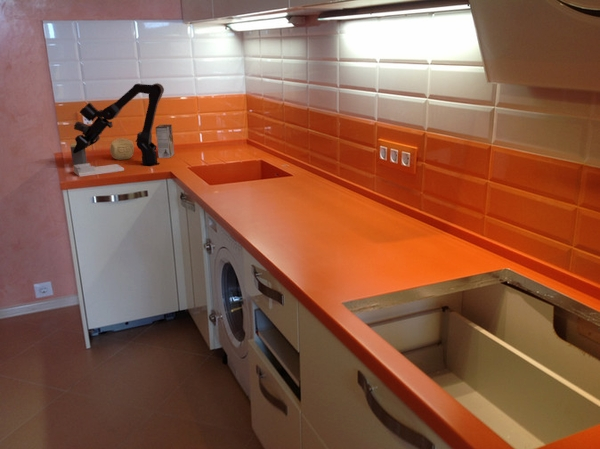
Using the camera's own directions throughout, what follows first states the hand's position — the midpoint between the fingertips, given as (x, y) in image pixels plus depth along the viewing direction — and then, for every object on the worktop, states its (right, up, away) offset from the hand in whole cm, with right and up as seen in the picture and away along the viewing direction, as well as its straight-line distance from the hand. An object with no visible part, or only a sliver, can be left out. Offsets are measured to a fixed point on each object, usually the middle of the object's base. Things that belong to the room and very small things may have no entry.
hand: (77, 151), depth 265 cm
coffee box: (+38, 0, +23) cm, 44 cm away
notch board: (+14, -11, -9) cm, 20 cm away
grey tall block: (+1, -7, +2) cm, 8 cm away
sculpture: (+16, -2, +18) cm, 25 cm away
